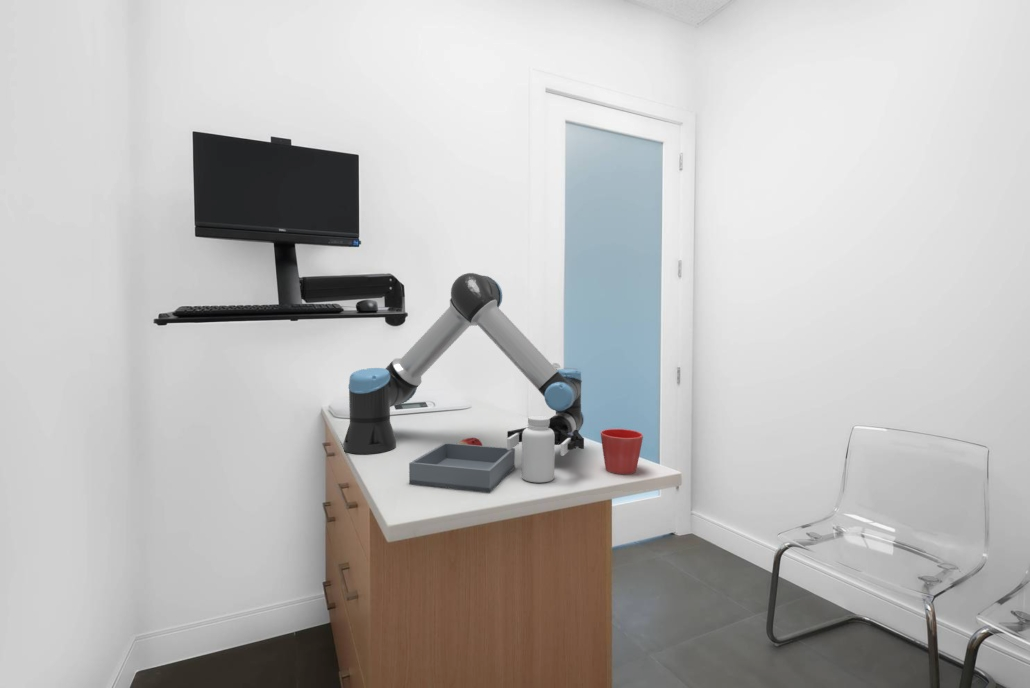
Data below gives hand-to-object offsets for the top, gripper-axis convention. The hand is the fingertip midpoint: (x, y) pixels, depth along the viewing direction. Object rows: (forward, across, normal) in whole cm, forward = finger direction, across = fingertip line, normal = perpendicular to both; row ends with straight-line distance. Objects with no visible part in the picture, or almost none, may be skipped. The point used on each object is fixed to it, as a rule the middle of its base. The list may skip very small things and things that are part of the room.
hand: (534, 447), depth 119 cm
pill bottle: (-3, 0, -9) cm, 9 cm away
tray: (+2, +18, -8) cm, 20 cm away
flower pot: (-18, -18, -9) cm, 26 cm away
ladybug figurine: (-19, +27, -9) cm, 34 cm away
